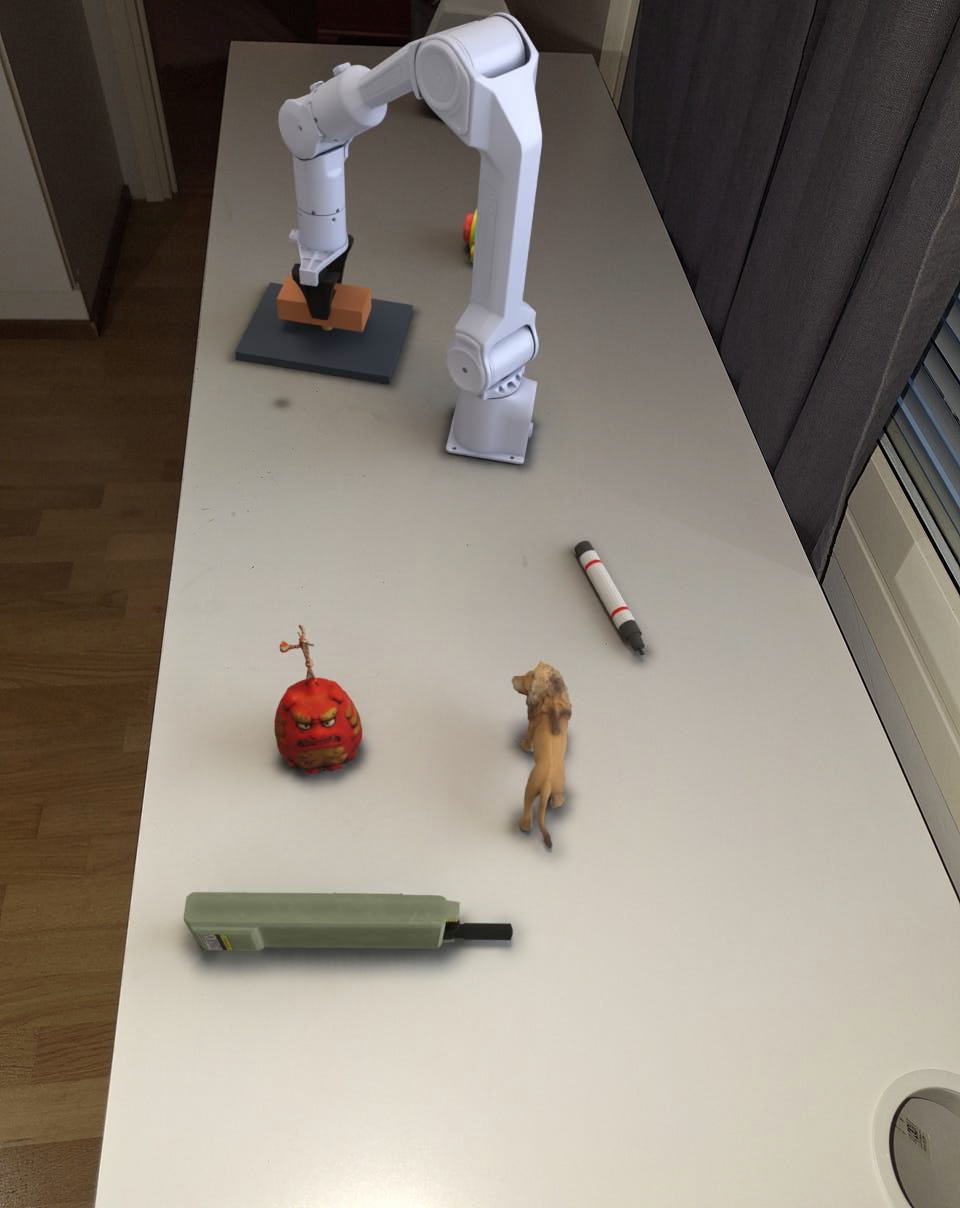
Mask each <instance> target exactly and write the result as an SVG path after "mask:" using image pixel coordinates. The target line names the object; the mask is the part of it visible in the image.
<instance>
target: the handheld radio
mask: <svg viewBox="0 0 960 1208" xmlns="http://www.w3.org/2000/svg"><path fill="white" fill-rule="evenodd" d="M460 915H461V902H460V901H454V900H447V898H446V897H445V896H443V895H436V894H435V895H434V894H404V893H361V892H360V893H357V892H354V893H353V892H352V893H350V892H333V893H331V892H328V893H325V892H234V891H233V892H231V891H229V892H228V891H227V892H226V891H225V892H224V891H223V892H222V891H221V892H220V891H219V892H218V891H216V892H213V891H194V892H191V893H189V894H188V895H186V898H185V904H184V911H183V921H184V924H185V925H186V926H187V928H188V930H189V931H190V933H191V935H192V936H193V937H194V939H195V941H196V943H197V944H198V946H200V947H202V948H203V950H205V951H222V952H223V951H225V952H226V951H228V952H229V951H230V952H231V951H233V952H234V951H235V952H236V951H237V952H239V951H240V952H247V951H248V952H257V951H262V950H263V949H264V948H279V949H280V948H281V949H282V948H285V949H286V948H287V949H288V948H291V949H292V948H294V949H295V948H296V949H297V948H298V949H304V948H305V949H306V948H307V949H408V950H409V949H413V950H414V949H415V950H416V949H418V950H420V949H422V950H425V949H428V950H429V949H430V950H434V949H435V950H436V949H439V948H440V947H442V945H443V944H445V943H455V940H456V939H457V940H458V939H459V940H463V941H512V938H513V935H514V927H513V925H512V923H510V922H505V923H501V922H499V923H498V922H494V923H493V922H463V923H461V921H460V918H461V917H460Z"/></svg>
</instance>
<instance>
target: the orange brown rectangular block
mask: <svg viewBox="0 0 960 1208" xmlns="http://www.w3.org/2000/svg"><path fill="white" fill-rule="evenodd" d="M283 284H284V285H283V287H282V289H281V291H280V293H279V295H278V297H277V308H278V318H279V319H284V320H290V321H296V322H302V323H308V324H310V323H311V324H315V325H321V326H327V327H333V328H339V329H345V330H351V331H358V332H363V329H364V327H365V324H366V321H367V319H368V316H369V313H370V310H371V298H372V288H371V287H363V286H358V285H353V284H352V285H351V284H345V283H342V284H339V283H336V284H335V286H334V290H333V294H332V302H331V311H330V315H329V318H328V320H327V321H326V320H320V319H314V318H312V316H311V314H310V311H309V308H308V305H307V302H306V300H305V297H304V295H303V293H302V291H301V289H300V288H299V286H298V285H297V284H296V282H295V281H294V280H293V278H292V275H290V274H289V275H287V277H286V278H285V280H284V282H283Z"/></svg>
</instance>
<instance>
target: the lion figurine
mask: <svg viewBox="0 0 960 1208" xmlns="http://www.w3.org/2000/svg"><path fill="white" fill-rule="evenodd" d="M510 683H511V684H512V688H513V689H514V690H515V691H516V692H517V693H518V694H520V695H522V696H525V697H526V698H525V705H526V706H527V710H526V715H527V720H528V724H527V728H526V730H525V731H526V732H525V738H523V739H521V742H519V746H520V747H521V748H522V749H523V750H524V751H525V752H533V761H534V764H535V765H534V766H533V767H532V769H531V771H530V773H529V776H528V778H527V782H526V786H525V788H524V796H523V815H522V817H521V819H520V820H519V821H518V822H519V823H518V824H519V828H520V829H521V830H522V831H525V832H526V831H531V829H532V826H533V817H534V816H533V807H534V804H535V802H536V800H537V798H538V797H539V804H538V811H537V812H538V813H537V823H538V828H539V830H540V831H539V832H540V833H541V835H542V841H543V842H542V843H544V845H545V847H546V848H547V849H552V848H553V847H554V845H553V841H552V837H551V834H550V832H548V830H547V827H546V824H545V813H546V808H547V804H548V800H549V798H550V801H549V803H550V806H551V808H553V809H556V808H560V807H561V806H563V804H564V802H565V797H564V795H563V793H564V791H565V785H566V772H565V771H566V770H565V769H566V768H565V763H564V762H565V757H566V752H567V751H566V750H567V747H568V732H567V730H568V726H569V721H570V720H571V718H572V714H573V712H572V707H573V705H572V704H573V703H572V702H571V701H570V696H569V695H570V693H568V689H569V688H568V686H567V685H566V683H565V681H564V678H563V676H562V675H561V671H560V670H558V669H556V668H555V667H554V666H552V665H551V664H548V663H545V662H544V661H543V660H539V663H538V664H537V666H536V667H535V668H534V669H533V670H528V671H527V672H526V673H525V675H514V676H513V677H512V678H511V682H510Z"/></svg>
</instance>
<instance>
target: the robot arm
mask: <svg viewBox="0 0 960 1208" xmlns="http://www.w3.org/2000/svg"><path fill="white" fill-rule="evenodd" d="M533 43H534V42H532V40H531V39H530V37H529V35H528V34H527V32H526V30H525V29H524V27H523V26H522V24H521V23H520V21H518V19H517V18H515V16H513V15H511V14H510V15H509V14H507V13H501V12H499V13H495V14H492V15H489V16H488V17H487V18H486V19H484V20H481V21H474V22H471V23H467V24H464V25H461V26H458V27H454V28H451V29H448V30H445V31H442V32H439V33H436V34H433V35H430V36H427V37H425V36H424V37H422V38H419V39H416V40H413V41H411V42H408V43H407V44H405V45H404V46H402V48H400V49H399V50H397V51H396V52H394V53H393V54H391V55H390V56H388V57H387V58H386V59H384V60H383V61H382V62H380V63H379V64H377V65H376V66H375V67H373V68H372V69H370V68H369V67H367V66H364V65H361V64H353V65H351V63H350V62H349V61H347V62H344V63H342V64H339V65H337V66H335V67H333V68H332V73H333V77H332V78H330V79H328V80H327V81H325V82H324V81H323V80H319V81H317V82H314V83H312V84H311V85H310V86H309V89H310V90H309V91H310V92H309V93H308V94H305V95H303V96H299V97H297V98H289V99H286V100H285V101H284V103H283V104H282V106H281V107H280V108H279V111H278V120H277V121H278V128H279V132H280V134H281V138H282V140H283V142H284V144H285V146H286V147H287V148H288V150H289V151H290V153H292V165H293V179H294V192H295V204H296V205H295V206H296V219H297V220H296V221H297V229H296V228H294V229H292V230H291V231H290V233H289V235H288V241H289V242H290V243H291V244H296V245H297V249H298V254H299V255H298V256H299V260H300V261H299V262H300V263H296V262H295V263H294V264H293V267H292V268H291V276H292V278H293V280H294V281H295V282H296V284H297V285H298V286H299V288H300V289H301V291H302V293H303V295H304V297H305V300H306V302H307V305H308V308H309V311H310V314H311V316H312V318H314V319H320V320H326V321H327V320H328V318H329V315H330V311H331V302H332V294H333V290H334V286H335V284H336V283H339V284H343V278H344V272H345V267H346V263H347V259H348V255H349V253H350V251H351V250H352V248H353V245H354V243H355V238H354V236H353V235H351V234H349V233H348V231H347V216H346V215H347V211H346V210H347V209H346V183H345V182H346V181H345V180H346V179H345V162H346V160H347V158H349V145H350V144H351V142H352V141H353V140H354V138H355V137H356V136H359V135H361V134H362V133H364V132H366V131H369V130H370V129H372V128H374V127H376V126H378V125H379V124H381V123H382V121H383V120H384V119H385V116H386V115H387V111H388V110H387V109H388V103H391V102H392V101H395V100H397V99H399V98H401V97H403V96H405V95H408V94H409V93H411V92H413V94H414V97H415V98H416V99H417V100H424V102H426V104H427V106H428V107H429V108H430V109H431V110H432V111H433V112H434V113H435V114H436V115H437V116H438V118H440V119H441V121H443V123H444V124H446V126H447V127H448V128H450V130H451V131H453V133H454V134H455V135H456V136H457V137H458V138H459V139H460V140H461V141H462V142H463V143H464V144H465V145H466V146H467V147H470V148H473V149H476V151H478V153H479V156H480V163H479V164H480V165H479V177H478V178H479V180H478V191H477V205H476V206H477V207H476V209H477V218H476V231H475V245H474V258H473V263H472V273H471V288H470V298H469V299H470V300H469V301H470V302H469V304H468V305H467V307H466V309H465V310H464V312H463V313H462V315H461V317H460V318H459V320H458V321H457V323H456V324H455V325H454V328H453V338H452V341H451V343H450V344H449V346H448V347H447V349H446V352H445V364H446V369H447V371H448V374H449V376H450V379H451V380H452V381H453V383H454V384H455V385H456V386H457V387H456V398H455V399H456V400H455V409H454V413H453V416H452V421H451V425H450V430H449V433H448V438H447V442H446V446H445V451H446V452H447V453H449V454H454V455H455V454H456V455H460V456H461V455H462V456H467V457H473V458H480V459H485V460H491V461H498V462H503V463H504V462H505V463H511V464H515V465H516V464H517V465H523V464H524V462H525V457H526V451H527V446H528V440H529V438H531V437H532V434H533V428H534V422H532V418H533V411H534V405H535V400H536V399H535V398H536V394H537V388H538V387H537V386H538V381H537V380H533V379H532V378H531V379H530V378H528V377H525V376H524V374H525V370H526V364H529V363H530V362H532V361H533V360H534V359H535V358H536V356H537V354H538V351H539V347H540V346H539V337H538V332H537V330H536V329H537V328H536V316H537V312H536V310H535V309H533V307H531V306H530V305H529V304H528V303H527V302H526V301H525V300H523V298H524V291H525V284H526V283H525V282H526V275H527V274H526V273H527V267H528V258H529V250H530V242H531V235H532V227H533V218H534V212H535V211H534V210H535V203H536V194H537V185H538V180H539V179H538V177H539V171H540V170H539V169H540V163H541V155H542V146H543V132H542V126H541V119H540V113H539V107H538V106H539V105H538V101H537V100H538V99H537V94H536V83H537V73H538V65H539V56H540V54H539V52H538V49H537V48H536V47H535V45H534V44H533Z"/></svg>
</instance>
